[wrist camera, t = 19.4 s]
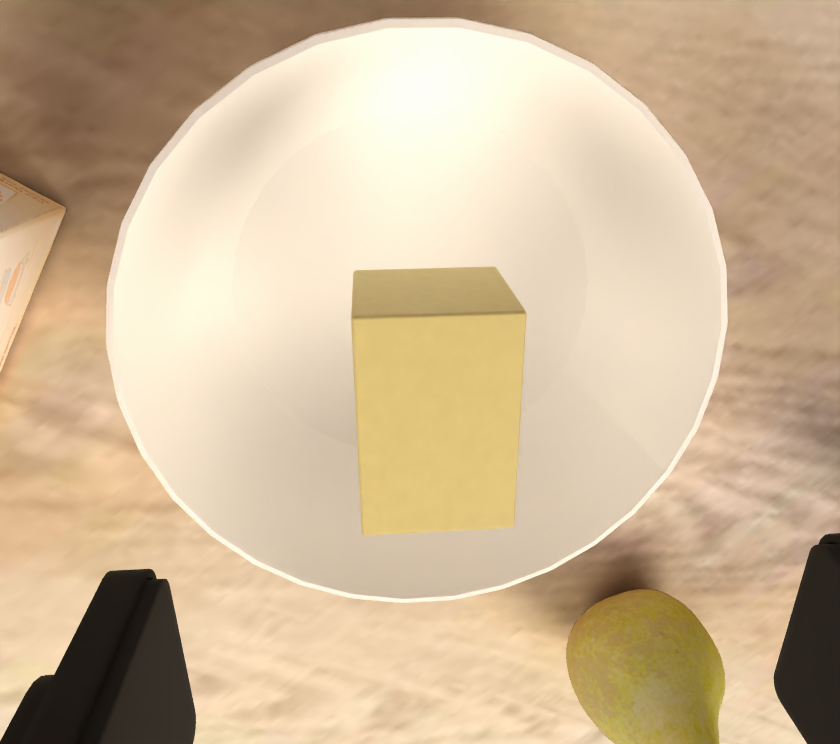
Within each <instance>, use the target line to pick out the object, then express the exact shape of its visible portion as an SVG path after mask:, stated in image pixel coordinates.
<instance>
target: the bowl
mask: <svg viewBox="0 0 840 744" xmlns="http://www.w3.org/2000/svg"><path fill="white" fill-rule="evenodd" d="M458 267H496V268H497V270H498V271H499V272H500V274H501V275H502V277H503V278H504V280H505V281H506V283H507V284H508V286H509V287H510V289H511V290H512V292H513V293H514V295H515V296H516V298H517V299H518V301H519V302H520V304H521V305H522V307H523V308H524V310H525V311H526V313H527V317H526V334H525V351H524V368H523V385H522V402H521V419H520V436H519V453H518V470H517V487H516V504H515V521H514V526H513V527H512V528H497V529H478V530H459V531H440V532H421V533H402V534H383V535H363V534H362V529H361V509H360V489H359V469H358V449H357V429H356V409H355V389H354V369H353V349H352V329H351V309H352V289H353V273H354V271H356V270H383V269H420V268H458ZM727 324H728V319H727V275H726V263H725V259H724V255H723V251H722V247H721V243H720V238H719V234H718V230H717V226H716V222H715V217H714V213H713V209H712V207H711V205H710V203H709V201H708V199H707V197H706V195H705V193H704V191H703V189H702V187H701V185H700V183H699V181H698V179H697V177H696V175H695V172H694V170H693V168H692V166H691V164H690V162H689V160H688V158H687V156H686V154H685V153H684V152H683V151H682V149H681V148H680V147H679V146H678V144H677V143H676V142H675V141H674V139H673V138H672V137H671V136H670V134H669V133H668V132H667V131H666V130H665V128H664V127H663V126H662V125H661V123H660V122H659V121H658V120H657V118H656V117H655V116H654V115H653V113H652V112H651V111H650V110H649V108H648V107H647V106H646V105H645V104H644V103H643V102H642V101H641V100H639V99H638V98H637V97H636V96H634V95H633V94H632V93H631V92H629V91H628V90H627V89H625V88H624V87H623V86H622V85H620V84H619V83H618V82H617V81H615V80H614V79H613V78H611V77H610V76H609V75H608V74H606V73H605V72H604V71H603V70H601V69H600V68H599V67H597V66H596V65H595V64H594V63H592V62H591V61H589V60H586V59H584V58H582V57H580V56H578V55H576V54H574V53H572V52H569V51H567V50H565V49H563V48H561V47H559V46H557V45H555V44H552V43H550V42H548V41H546V40H544V39H542V38H540V37H538V36H535V35H533V34H531V33H529V32H524V31H520V30H515V29H511V28H506V27H502V26H497V25H493V24H488V23H484V22H479V21H474V20H470V19H465V18H461V17H409V18H383V19H378V20H374V21H370V22H365V23H361V24H357V25H352V26H348V27H344V28H339V29H335V30H331V31H326V32H322V33H318V34H314V35H312V36H310V37H308V38H306V39H304V40H302V41H300V42H298V43H295V44H293V45H291V46H289V47H287V48H285V49H283V50H281V51H279V52H277V53H275V54H273V55H270V56H268V57H266V58H264V59H262V60H260V61H258V62H256V63H254V64H252V65H250V66H248V67H247V68H246V69H245V70H243V71H242V72H241V73H239V74H238V75H237V76H236V77H234V78H233V79H232V80H231V81H229V82H228V83H227V84H226V85H224V86H223V87H222V88H220V89H219V90H218V91H217V92H215V93H214V94H213V95H212V96H210V97H209V98H208V99H207V100H205V101H204V102H203V103H201V104H200V105H199V106H198V107H196V108H195V109H194V110H193V111H192V112H191V114H190V115H189V116H188V117H187V119H186V120H185V121H184V122H183V124H182V125H181V126H180V127H179V129H178V130H177V131H176V132H175V134H174V135H173V136H172V137H171V138H170V140H169V141H168V142H167V143H166V145H165V146H164V147H163V148H162V150H161V151H160V152H159V153H158V155H157V156H156V157H155V158H154V160H153V161H152V162H151V164H150V166H149V168H148V170H147V172H146V174H145V176H144V178H143V180H142V182H141V184H140V186H139V188H138V190H137V192H136V194H135V196H134V198H133V200H132V202H131V204H130V206H129V208H128V210H127V213H126V215H125V217H124V219H123V221H122V223H121V227H120V231H119V236H118V240H117V244H116V248H115V253H114V257H113V261H112V265H111V270H110V274H109V278H108V282H107V308H106V348H107V352H108V357H109V362H110V367H111V372H112V376H113V381H114V386H115V391H116V396H117V400H118V404H119V406H120V408H121V411H122V413H123V415H124V417H125V420H126V422H127V424H128V426H129V429H130V431H131V433H132V436H133V438H134V440H135V442H136V445H137V447H138V449H139V451H140V454H141V455H142V457H143V458H144V459H145V461H146V462H147V464H148V465H149V466H150V468H151V469H152V471H153V472H154V474H155V475H156V476H157V478H158V479H159V481H160V482H161V483H162V485H163V486H164V488H165V489H166V491H167V492H168V493H169V495H170V496H171V498H172V499H173V500H174V501H175V502H176V503H177V504H178V505H179V506H181V507H182V508H183V509H184V510H185V511H186V512H187V513H188V514H189V515H190V516H191V517H192V518H193V519H194V520H195V521H196V522H197V523H198V524H199V525H200V526H201V527H202V528H203V529H204V530H205V531H206V532H207V533H209V534H210V535H211V536H212V537H214V538H215V539H217V540H218V541H220V542H221V543H223V544H224V545H226V546H227V547H229V548H230V549H232V550H233V551H235V552H236V553H238V554H239V555H241V556H242V557H244V558H245V559H247V560H248V561H250V562H251V563H253V564H254V565H257V566H259V567H261V568H264V569H266V570H268V571H270V572H273V573H275V574H277V575H279V576H282V577H284V578H286V579H288V580H291V581H293V582H295V583H298V584H300V585H302V586H306V587H310V588H314V589H318V590H322V591H326V592H330V593H334V594H337V595H341V596H345V597H349V598H356V599H367V600H377V601H388V602H398V603H408V602H424V601H441V600H454V599H459V598H464V597H468V596H473V595H477V594H482V593H487V592H491V591H496V590H500V589H504V588H507V587H509V586H512V585H515V584H517V583H520V582H522V581H525V580H528V579H530V578H533V577H535V576H538V575H541V574H543V573H546V572H548V571H551V570H553V569H554V568H556V567H558V566H560V565H561V564H563V563H565V562H567V561H568V560H570V559H572V558H574V557H575V556H577V555H579V554H581V553H582V552H584V551H586V550H588V549H589V548H591V547H593V546H595V545H596V544H597V543H598V542H600V541H601V540H602V539H603V538H605V537H606V536H607V535H608V534H610V533H611V532H612V531H613V530H615V529H616V528H617V527H618V526H619V525H621V524H622V523H623V522H624V521H626V520H627V519H628V518H629V517H631V516H632V515H633V514H634V513H636V511H637V510H638V509H639V508H640V507H641V506H642V505H643V504H644V502H645V501H646V500H647V499H648V498H649V497H650V496H651V495H652V493H653V492H654V491H655V490H656V489H657V488H658V487H659V486H660V484H661V483H662V482H663V481H664V480H665V479H666V478H667V477H668V475H669V474H670V473H671V471H672V470H673V468H674V467H675V465H676V463H677V462H678V460H679V458H680V457H681V455H682V454H683V452H684V450H685V449H686V447H687V445H688V444H689V442H690V441H691V439H692V437H693V436H694V434H695V433H696V431H697V429H698V427H699V425H700V422H701V420H702V417H703V414H704V412H705V409H706V407H707V404H708V402H709V399H710V397H711V394H712V391H713V389H714V386H715V384H716V381H717V379H718V374H719V368H720V363H721V357H722V352H723V346H724V341H725V335H726V330H727Z"/></svg>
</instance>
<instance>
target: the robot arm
mask: <svg viewBox="0 0 840 744" xmlns="http://www.w3.org/2000/svg"><path fill="white" fill-rule="evenodd" d="M774 686H775V690H776V693H777V696H778V698H779V700H780V702H781V703H782V705H783V707H784V708H785V710H786V711H787V713H788V714H789V716H790V718H791V719H792V721H793V722H794V724H795V725H796V727H797V728H798V730H799V732H800V733H801V735H802V736H803V738H804V739H805V741H806V742H807V744H840V533H837V534H827V535H825V536H824V537H822V538H821V540H820V542H819V544H818V545H815V546H813V547H812V548H811V550H810V553H809V556H808V559H807V563H806V566H805V570H804V573H803V577H802V580H801V583H800V587H799V590H798V594H797V597H796V601H795V604H794V607H793V611H792V614H791V618H790V621H789V625H788V628H787V632H786V635H785V638H784V642H783V645H782V649H781V652H780V656H779V659H778V662H777V666H776V669H775V673H774ZM195 727H196V714H195V708H194V703H193V698H192V693H191V688H190V683H189V678H188V673H187V668H186V663H185V659H184V654H183V649H182V644H181V639H180V634H179V629H178V624H177V619H176V614H175V610H174V605H173V600H172V595H171V590H170V586H169V582H168V581H167V579H157V578H156V575H155V573H154V571H153V570H152V569H139V570H119V571H109V572H108V573H106V575H105V576H104V578H103V579H102V581H101V583H100V585H99V587H98V589H97V591H96V593H95V595H94V597H93V599H92V601H91V603H90V605H89V607H88V609H87V611H86V613H85V615H84V617H83V619H82V621H81V623H80V625H79V627H78V629H77V631H76V633H75V635H74V637H73V639H72V641H71V643H70V645H69V647H68V649H67V651H66V653H65V655H64V657H63V659H62V661H61V663H60V665H59V667H58V668H57V670H56V672H55V674H54V675H45V676H40V677H39V678H38V679H37V680H36V681H34V682H33V684H32V685H31V687H30V688H29V690H28V691H27V693H26V694H25V696H24V698H23V700H22V702H21V703H20V705H19V707H18V709H17V711H16V713H15V715H14V717H13V718H12V720H11V722H10V724H9V726H8V728H7V730H6V732H5V733H4V735H3V737H2V739H1V741H0V744H193V741H194V736H195Z"/></svg>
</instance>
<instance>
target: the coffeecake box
mask: <svg viewBox="0 0 840 744" xmlns="http://www.w3.org/2000/svg"><path fill="white" fill-rule="evenodd" d="M65 212H66V209H65V207H64V206H62V205H60V204H58V203H56V202H54V201H52V200H50V199H48V198H46V197H45V196H43V195H41V194H39V193H37V192H35V191H33V190H31V189H29V188H28V187H26V186H24V185H22V184H20V183H19V182H17V181H15V180H13V179H11V178H9V177H7V176H5V175H3V174H1V173H0V372H1V370H2V367H3V365H4V362H5V360H6V357H7V355H8V352H9V350H10V347H11V345H12V342H13V340H14V338H15V335H16V333H17V330H18V328H19V325H20V323H21V320H22V318H23V316H24V313H25V311H26V308H27V306H28V303H29V301H30V298H31V296H32V293H33V291H34V288H35V286H36V283H37V281H38V278H39V276H40V273H41V271H42V269H43V266H44V264H45V261H46V259H47V256H48V254H49V251H50V249H51V247H52V244H53V242H54V239H55V237H56V234H57V232H58V229H59V227H60V224H61V222H62V219H63V217H64V214H65Z"/></svg>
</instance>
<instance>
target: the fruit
mask: <svg viewBox="0 0 840 744" xmlns="http://www.w3.org/2000/svg"><path fill="white" fill-rule="evenodd" d="M566 659H567V668H568V672H569V677H570V680H571V683H572V686H573V689H574V691H575V693H576V695H577V697H578V700H579V702H580V704H581V705H582V707H583V709H584V710H585V712H586V713H587V715H588V716H589V717H590V719H591V720H592V721H593V722H594V724H595V725H596V726H597V727H598V728H599V730H600V731H601V732H602V733H603V734H604V735H605V736H606V737H607V738H608V739H610V740H611V741H612V742H613V743H615V744H719V730H718V715H719V709H720V706H721V703H722V700H723V696H724V691H725V673H724V668H723V664H722V660H721V657H720V654H719V652H718V650H717V648H716V646H715V644H714V642H713V640H712V639H711V637H710V635H709V634H708V632H707V631H706V629H705V628H704V627H703V625H702V624H701V623H700V621H699V620H698V618H697V617H696V616H695V615H694V614H693V612H692V611H691V610H689V609H688V608H687V607H686V606H685V605H684V604H682V603H681V602H680V601H678V600H677V599H675V598H673V597H671V596H670V595H668V594H666V593H663V592H660V591H657V590H651V589H637V590H631V591H627V592H623V593H620V594H617V595H614V596H611V597H608V598H606V599H604V600H602V601H600V602H598V603H596V604H595V605H593V606H592V607H591V608H589V609H588V610H587V611H586V612H585V613H584V614H583V615H582V616H581V617H580V618H579V619H578V620H577V621H576V623H575V625H574V627H573V628H572V630H571V633H570V635H569V638H568V643H567V653H566Z"/></svg>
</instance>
